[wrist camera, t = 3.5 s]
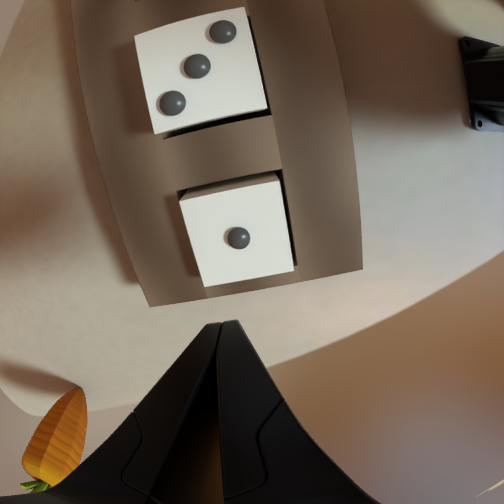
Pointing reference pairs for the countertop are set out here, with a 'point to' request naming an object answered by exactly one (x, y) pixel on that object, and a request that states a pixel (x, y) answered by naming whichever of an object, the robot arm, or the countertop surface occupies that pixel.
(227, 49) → the key three dots
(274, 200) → the key one dot
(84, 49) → the key panel
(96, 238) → the countertop surface
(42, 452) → the carrot
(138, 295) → the countertop surface
